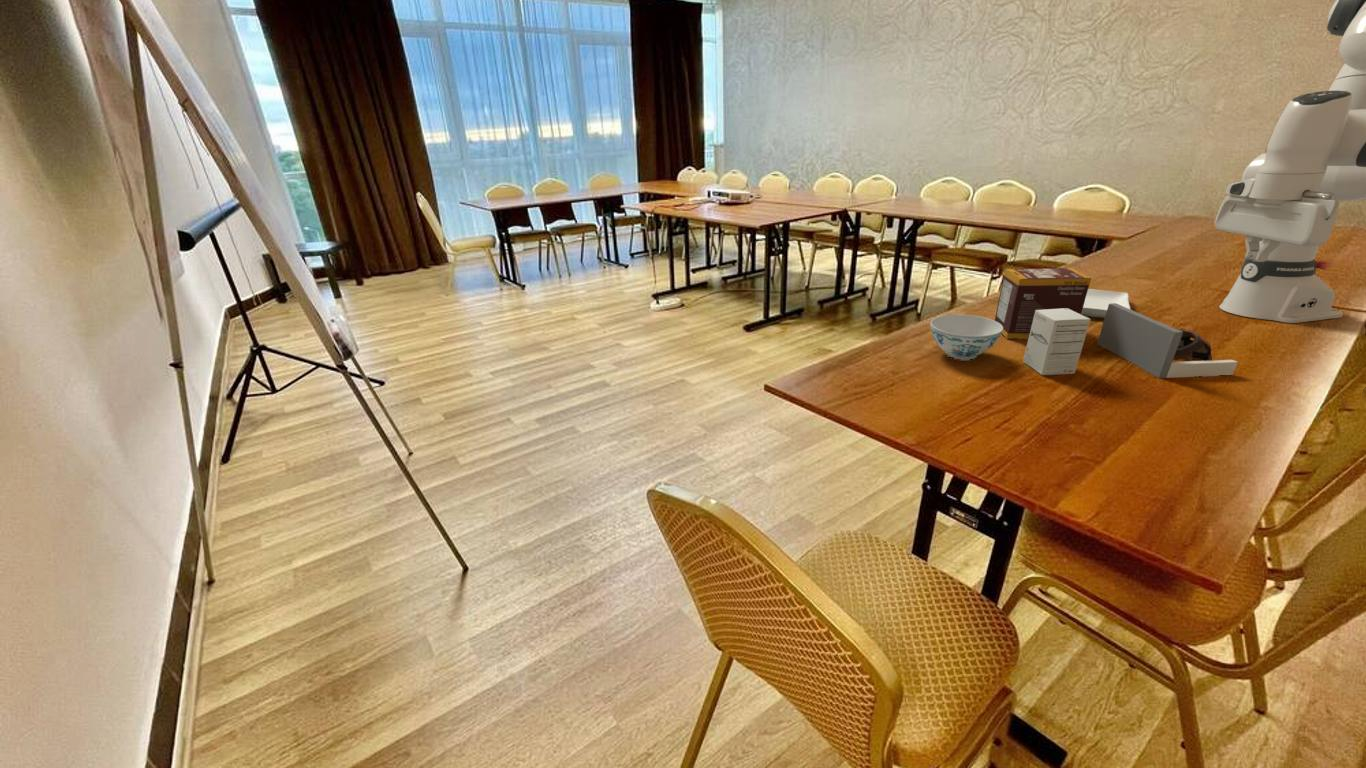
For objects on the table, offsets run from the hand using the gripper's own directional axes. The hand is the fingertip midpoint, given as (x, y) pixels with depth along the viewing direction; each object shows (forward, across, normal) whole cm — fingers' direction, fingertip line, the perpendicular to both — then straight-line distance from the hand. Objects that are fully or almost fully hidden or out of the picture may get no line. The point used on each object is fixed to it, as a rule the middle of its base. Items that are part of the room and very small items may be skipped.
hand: (1254, 260), depth 105 cm
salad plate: (+22, +36, +7) cm, 43 cm away
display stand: (+21, 0, +12) cm, 24 cm away
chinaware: (+21, +6, +52) cm, 57 cm away
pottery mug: (+21, -2, +9) cm, 23 cm away
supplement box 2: (+21, -3, +37) cm, 43 cm away
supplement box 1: (+21, +18, +29) cm, 40 cm away
